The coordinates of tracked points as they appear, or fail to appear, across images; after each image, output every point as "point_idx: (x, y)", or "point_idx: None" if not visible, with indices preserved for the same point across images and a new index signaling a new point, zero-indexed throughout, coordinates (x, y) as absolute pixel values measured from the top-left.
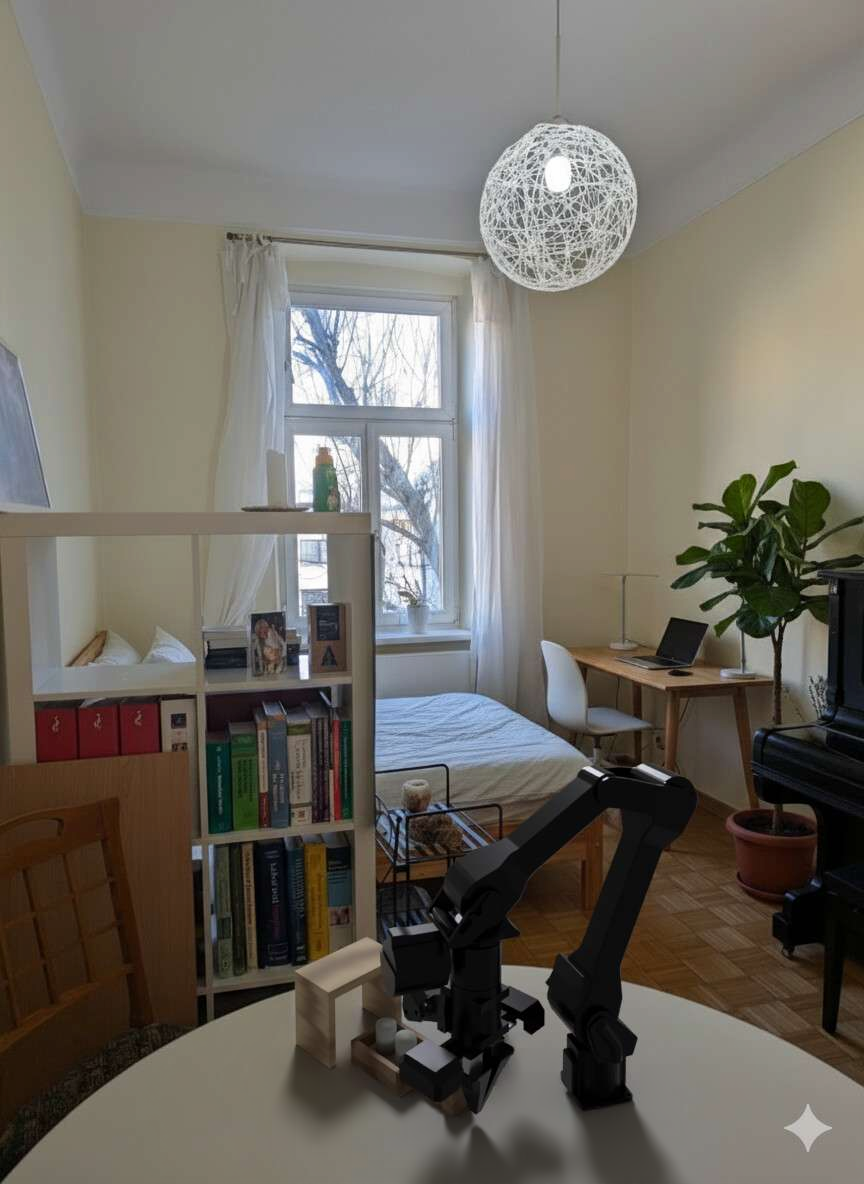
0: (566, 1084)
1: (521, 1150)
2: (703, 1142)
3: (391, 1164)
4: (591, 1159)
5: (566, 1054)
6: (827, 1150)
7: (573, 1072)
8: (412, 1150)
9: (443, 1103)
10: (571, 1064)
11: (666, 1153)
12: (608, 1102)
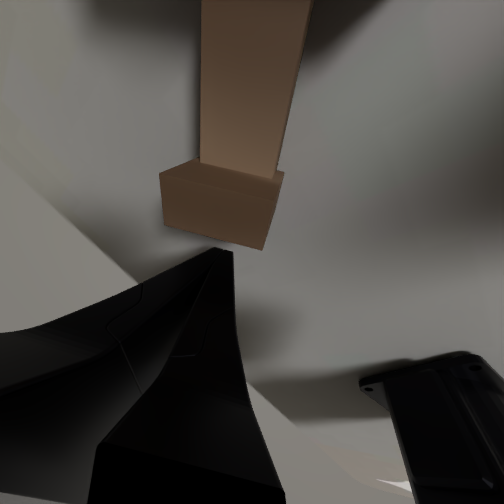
0: (410, 381)
1: None
2: (354, 444)
3: (11, 147)
4: (267, 381)
5: (454, 481)
6: (383, 485)
7: (402, 444)
8: (68, 165)
9: (197, 159)
10: (412, 468)
11: (319, 425)
12: (386, 408)
